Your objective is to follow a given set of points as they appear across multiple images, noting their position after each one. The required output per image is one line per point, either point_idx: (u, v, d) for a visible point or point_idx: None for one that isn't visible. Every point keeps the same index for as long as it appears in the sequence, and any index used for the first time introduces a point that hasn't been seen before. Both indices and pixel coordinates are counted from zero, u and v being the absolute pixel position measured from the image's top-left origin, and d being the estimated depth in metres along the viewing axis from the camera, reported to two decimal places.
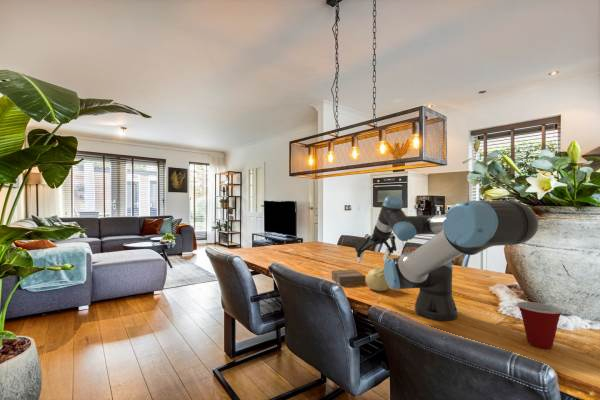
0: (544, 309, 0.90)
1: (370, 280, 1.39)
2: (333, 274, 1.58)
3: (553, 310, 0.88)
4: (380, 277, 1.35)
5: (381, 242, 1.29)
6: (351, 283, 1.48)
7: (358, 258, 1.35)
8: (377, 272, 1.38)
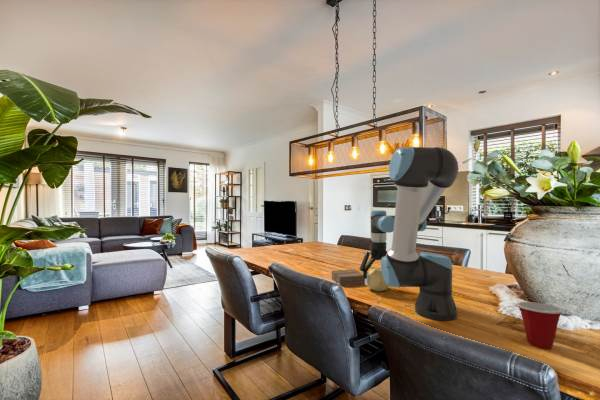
0: (544, 309, 0.90)
1: (370, 280, 1.39)
2: (333, 274, 1.58)
3: (553, 310, 0.88)
4: (380, 277, 1.35)
5: (381, 257, 1.41)
6: (351, 283, 1.48)
7: (365, 281, 1.40)
8: (377, 272, 1.38)
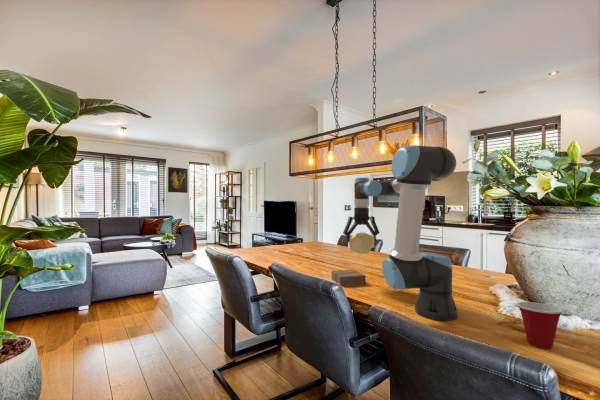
0: (544, 309, 0.90)
1: (352, 243, 1.47)
2: (333, 274, 1.58)
3: (553, 310, 0.88)
4: (361, 239, 1.44)
5: (363, 222, 1.49)
6: (351, 283, 1.48)
7: (349, 244, 1.49)
8: (359, 235, 1.46)
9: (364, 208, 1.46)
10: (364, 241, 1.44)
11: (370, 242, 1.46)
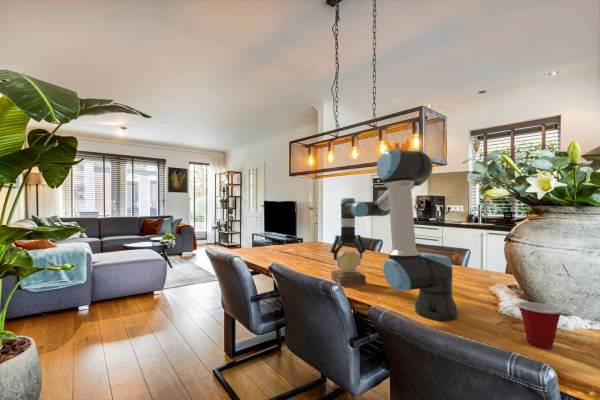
0: (544, 309, 0.90)
1: (339, 261, 1.52)
2: (333, 274, 1.58)
3: (553, 310, 0.88)
4: (348, 258, 1.49)
5: (350, 241, 1.55)
6: (351, 283, 1.48)
7: (336, 262, 1.54)
8: (345, 254, 1.52)
9: (350, 227, 1.52)
10: (350, 259, 1.50)
11: (356, 260, 1.51)
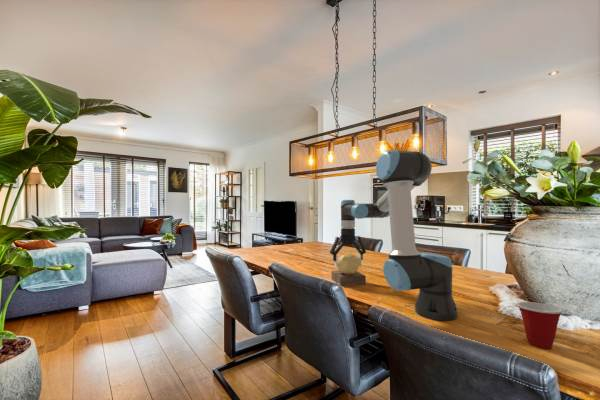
0: (544, 309, 0.90)
1: (339, 264, 1.53)
2: (333, 274, 1.58)
3: (553, 310, 0.88)
4: (348, 261, 1.49)
5: (350, 242, 1.55)
6: (351, 283, 1.48)
7: (335, 263, 1.54)
8: (346, 257, 1.52)
9: (350, 229, 1.52)
10: (350, 263, 1.50)
11: (356, 263, 1.51)
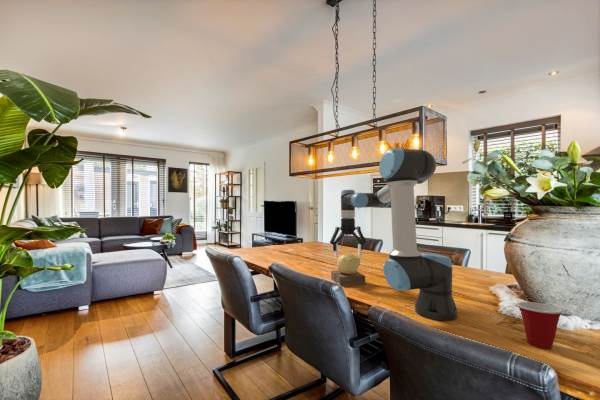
0: (544, 309, 0.90)
1: (340, 264, 1.53)
2: (333, 274, 1.58)
3: (553, 310, 0.88)
4: (348, 261, 1.50)
5: (350, 232, 1.55)
6: (351, 283, 1.48)
7: (335, 253, 1.54)
8: (346, 256, 1.52)
9: (350, 219, 1.52)
10: (351, 262, 1.50)
11: (356, 263, 1.52)
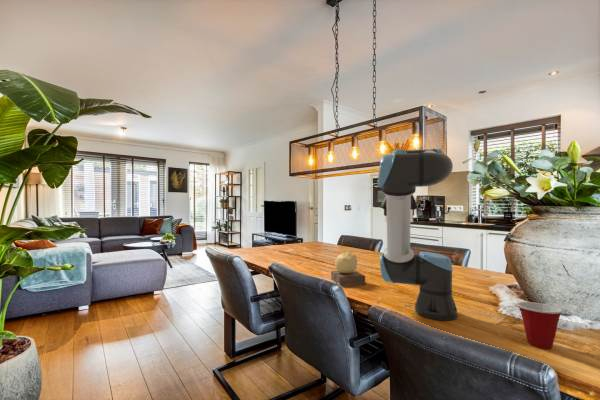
0: (544, 309, 0.90)
1: (341, 264, 1.51)
2: (333, 274, 1.57)
3: (553, 310, 0.88)
4: (350, 259, 1.50)
5: None
6: (350, 283, 1.48)
7: (386, 218, 1.43)
8: (346, 256, 1.51)
9: None
10: (352, 260, 1.51)
11: (356, 260, 1.53)
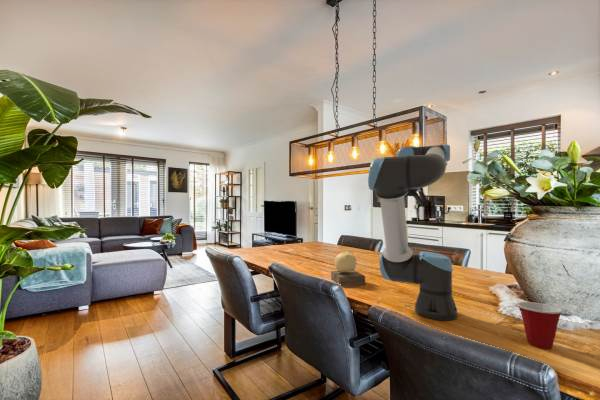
0: (544, 309, 0.90)
1: (344, 262, 1.51)
2: (333, 274, 1.57)
3: (553, 310, 0.88)
4: (353, 256, 1.52)
5: (412, 193, 1.42)
6: (350, 283, 1.48)
7: None
8: (347, 253, 1.53)
9: None
10: (354, 257, 1.53)
11: None
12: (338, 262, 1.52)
